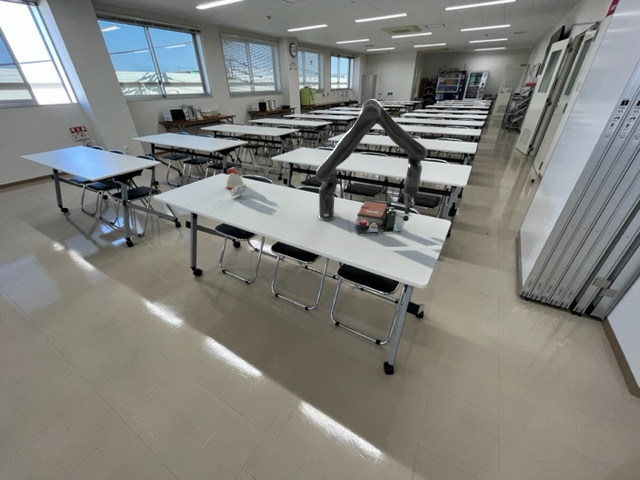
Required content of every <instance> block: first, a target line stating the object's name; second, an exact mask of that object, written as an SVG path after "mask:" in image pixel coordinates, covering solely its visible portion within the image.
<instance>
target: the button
mask: <svg viewBox="0 0 640 480" xmlns="http://www.w3.org/2000/svg"><path fill="white" fill-rule="evenodd" d="M359 221H360V224H361V225H366V224H367V222H368V221H366V220H359Z"/></svg>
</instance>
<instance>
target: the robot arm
mask: <svg viewBox="0 0 640 480" xmlns="http://www.w3.org/2000/svg"><path fill="white" fill-rule="evenodd" d="M377 124H378V126H380V127H381V128H382V130H384V132H385V133H386V134H387V136H388V137H389V138H390V140H391V141H392V142H393V143H394V144H396V145H397V146H398V148H400V149H402V150H403V151H405V152H406V153H407V154H408V155H407V171H406V176H405V179H404V186H403V196H402V197H403V205H404V207H405V208H404V212H403V213H404V214H405V215H409V214H410V210H411V209H413V207H415V205H416V201H414V200H415V195H417V194H418V193H419V189H420V183H421V176H422V171H423V166H422V161H423V160H425V159H426V158H427V157H428V150H427V148H426V147H425V146H424V145H423V144H422V143H420V142H419V141H417V140H416V139H415V138H414V137H413V136H412V135H411V134H410V133H409V132H407V131H406V130H405V129H404V128H402V126H400V125H399V124H398V123H397V122H396V121H395V119H393V118H392V116H391V115H390V114H388V112H387V111H386V110H385V108H384V107H383V106H382V105H381V103H380V102H379V101H378V100H377V99H375V98H368V99H367V100H365V101H364V102H363V103H362V106H361V109H360V113H359V115H358V117H357V119H356V121H355V122H354V124H353V125H352V127H351V128H350V129H349V130H347V131H346V132H345V133H344V134H343V135H342V136H341V137H340V138H339V140H338V142H337V143H336V144H335V145H334V147H333V149H332V150H331V152H330V153H329V154H328V156H327V158H326V159H325V160H324V161H323V162H322V163H321V164H320V166H319V167H318V168H317V169H316V172H315V177H316V180H317V181H318V182H320V183H321V185H320V186H319V187H318V211H319V212H318V218H319V219H320V220H322V221H331V220H334V218H335V189H336V187H337V177H338V172H337V167H339V166H341V164H342V163H344V162H345V161H346V160H347V159H348V158H350V156H351V155H352V154H353V152H354V151H356V149H357V147H358V146H359V144H360V143H361V142H362V140H363V138H364V137H365V136H366V135H367V134H368V133H369V132H370V130H372V128H373V127H374V126H376V125H377Z"/></svg>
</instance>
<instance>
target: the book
mask: <svg viewBox="0 0 640 480" xmlns="http://www.w3.org/2000/svg"><path fill="white" fill-rule="evenodd" d="M391 207H392V202H391V201H381V200H374V199H366V200H365V201H364V203H363V204H362V205H361V207H360V209H359V211H358V213H357V214H356V216H357V220H358V221H360V220H366V221H367V222H369V223H375V224H384V221H385V214H386V208H391Z"/></svg>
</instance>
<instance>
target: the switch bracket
mask: <svg viewBox="0 0 640 480" xmlns="http://www.w3.org/2000/svg"><path fill="white" fill-rule="evenodd" d="M389 209H391V210H390V211H388V210H389ZM387 212H388V213H387ZM397 212H398V211H397V210H396V209H395V207H392V206H391V208H386V214H385V221H384V224H381V223H377V228H379V230H380V233H392V232H397V233H398V232H401V229H400V228H399V227H398V225H397V224H396V218H397V216H396V213H397Z"/></svg>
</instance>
